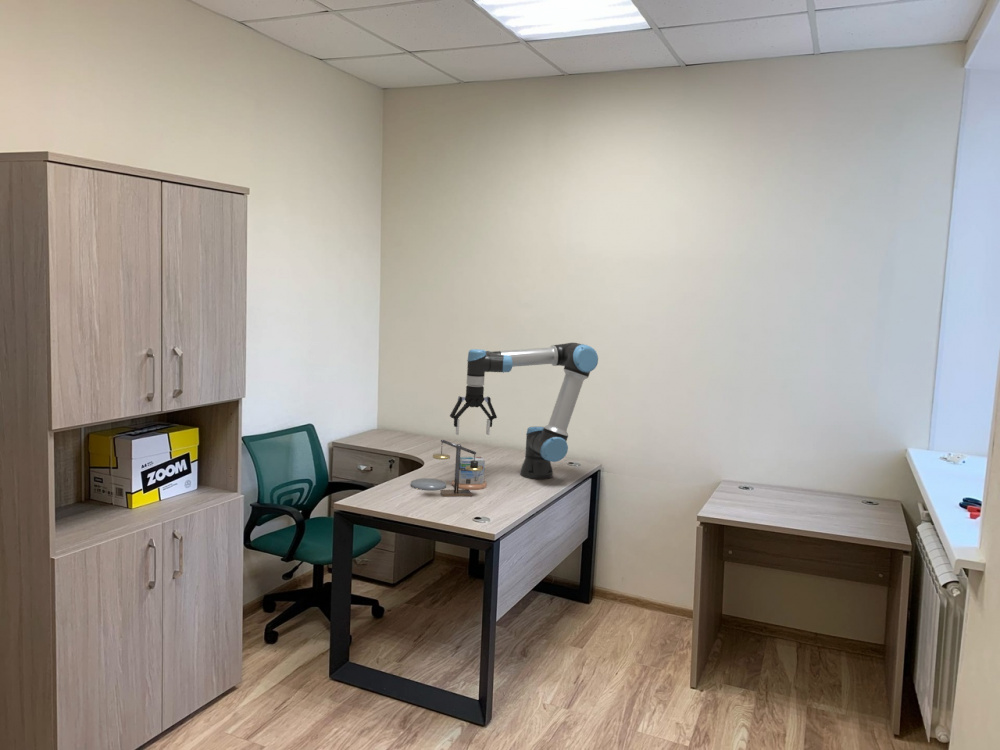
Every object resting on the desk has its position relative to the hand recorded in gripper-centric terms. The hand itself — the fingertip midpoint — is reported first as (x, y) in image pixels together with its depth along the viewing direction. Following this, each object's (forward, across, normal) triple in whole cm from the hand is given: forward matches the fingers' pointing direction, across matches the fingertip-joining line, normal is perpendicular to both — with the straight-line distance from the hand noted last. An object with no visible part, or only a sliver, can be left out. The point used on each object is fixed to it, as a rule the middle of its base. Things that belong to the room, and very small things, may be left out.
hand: (472, 434), depth 331 cm
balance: (+22, +9, +14) cm, 28 cm away
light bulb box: (+22, 0, 0) cm, 22 cm away
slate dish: (+22, +18, 0) cm, 29 cm away
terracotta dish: (+22, 0, 0) cm, 23 cm away
